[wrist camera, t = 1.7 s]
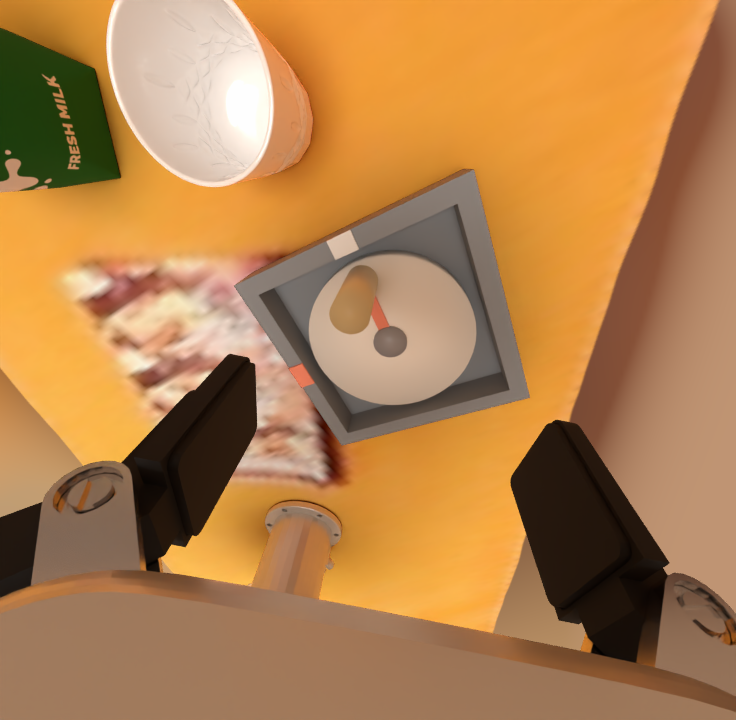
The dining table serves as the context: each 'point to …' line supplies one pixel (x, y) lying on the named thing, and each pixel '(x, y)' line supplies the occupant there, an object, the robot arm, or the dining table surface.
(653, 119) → the dining table surface
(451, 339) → the dial
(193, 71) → the white cup
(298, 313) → the dial housing
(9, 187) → the milk carton
